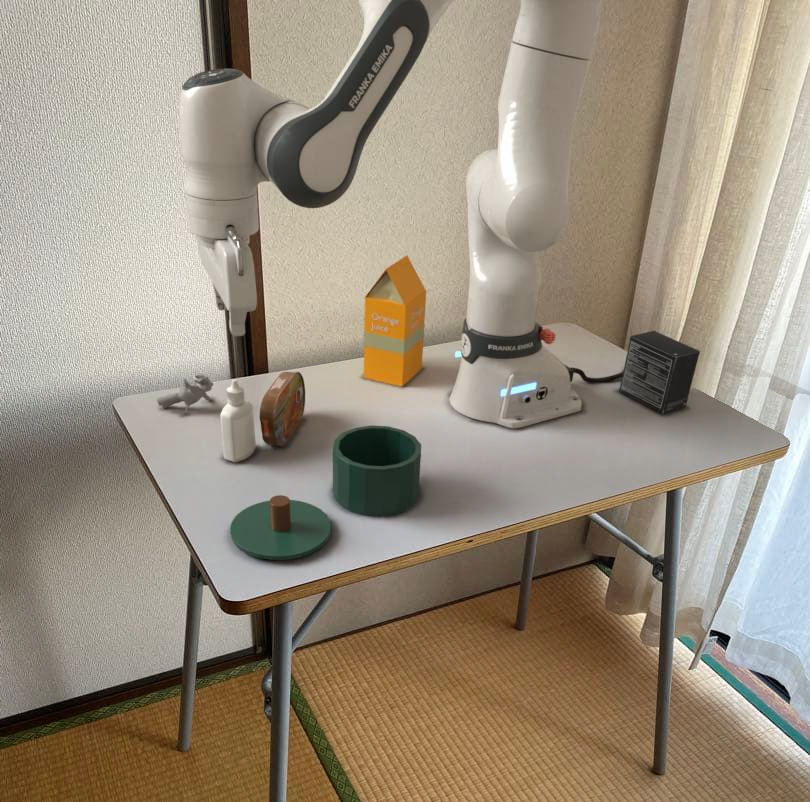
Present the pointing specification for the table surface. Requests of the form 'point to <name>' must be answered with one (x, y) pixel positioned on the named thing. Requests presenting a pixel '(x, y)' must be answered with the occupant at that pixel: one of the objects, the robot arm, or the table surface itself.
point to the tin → (282, 408)
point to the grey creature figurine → (188, 392)
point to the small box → (658, 371)
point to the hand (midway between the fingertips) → (230, 320)
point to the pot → (376, 470)
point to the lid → (280, 529)
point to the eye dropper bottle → (237, 425)
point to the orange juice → (394, 325)
